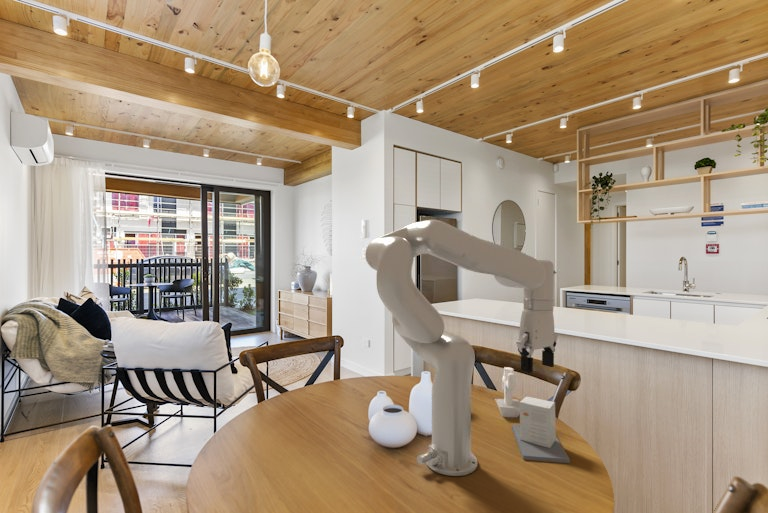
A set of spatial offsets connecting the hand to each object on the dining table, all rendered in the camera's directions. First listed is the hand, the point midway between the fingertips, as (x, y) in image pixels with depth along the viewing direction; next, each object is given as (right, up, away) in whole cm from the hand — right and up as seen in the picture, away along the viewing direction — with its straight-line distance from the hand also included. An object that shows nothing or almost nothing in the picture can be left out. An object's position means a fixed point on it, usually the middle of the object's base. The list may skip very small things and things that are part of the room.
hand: (537, 368), depth 106 cm
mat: (0, -21, 0) cm, 21 cm away
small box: (0, -20, 0) cm, 20 cm away
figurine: (-2, -21, +20) cm, 29 cm away
